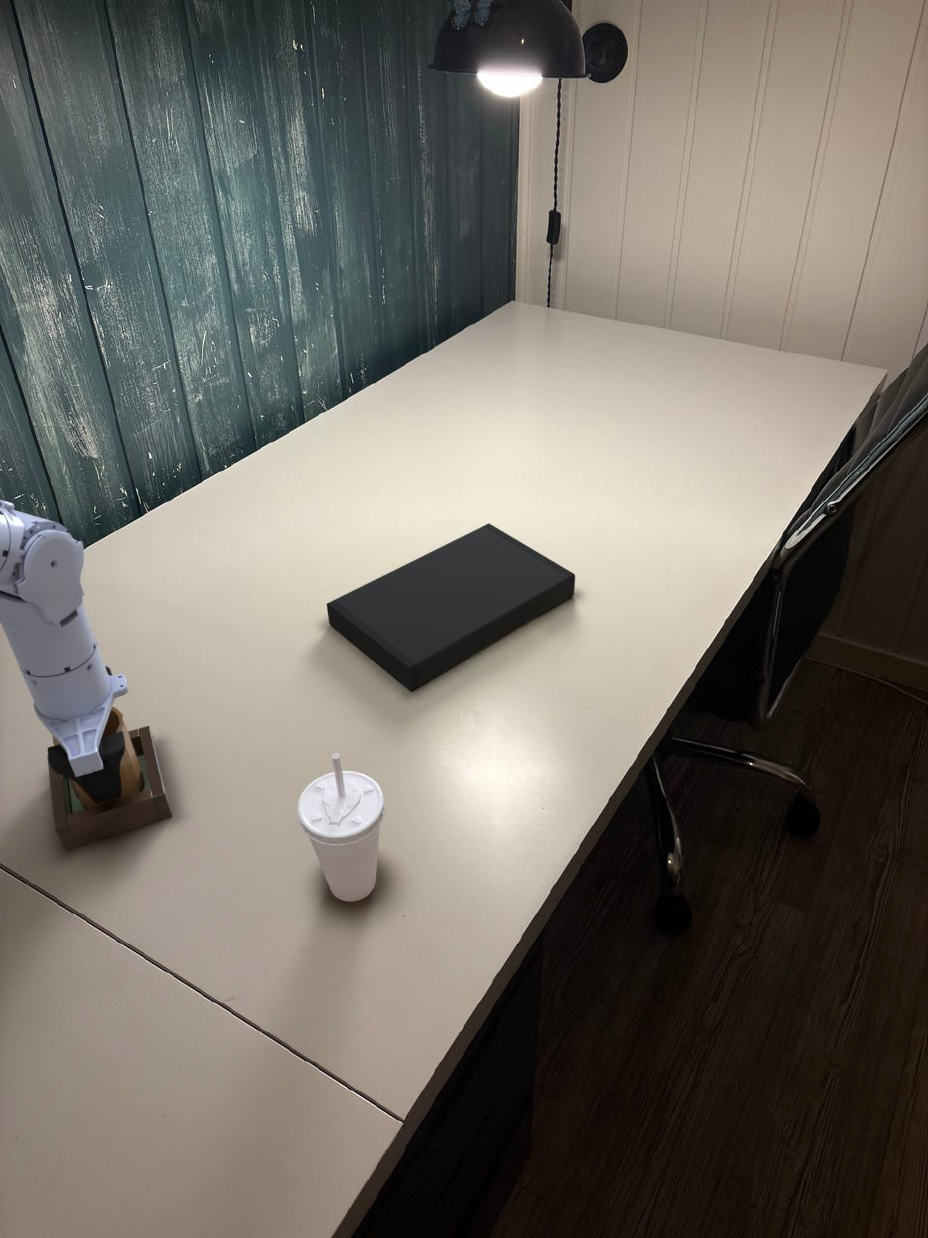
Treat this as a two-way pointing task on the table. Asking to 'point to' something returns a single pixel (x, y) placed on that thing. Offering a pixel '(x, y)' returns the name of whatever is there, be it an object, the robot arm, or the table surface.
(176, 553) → the table surface
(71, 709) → the robot arm
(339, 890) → the smoothie
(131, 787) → the paper cup
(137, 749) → the cup holder
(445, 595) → the external hard drive
